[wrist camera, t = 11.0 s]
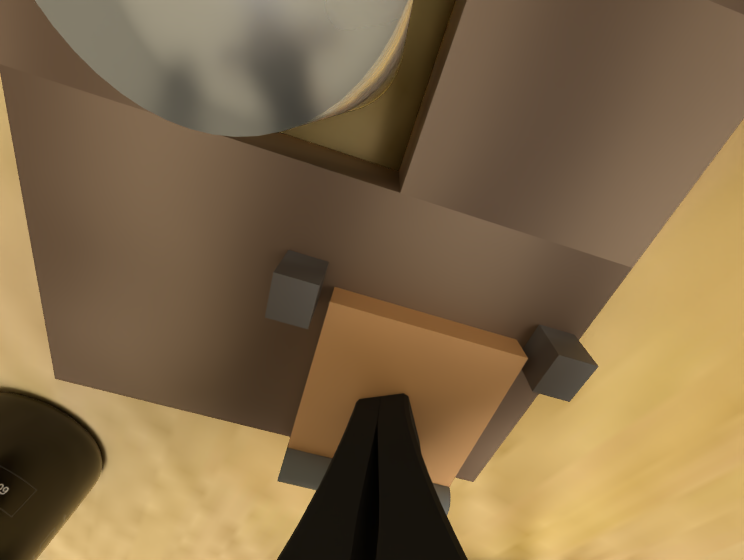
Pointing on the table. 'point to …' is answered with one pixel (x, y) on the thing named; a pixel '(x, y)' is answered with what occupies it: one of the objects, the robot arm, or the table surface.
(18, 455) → the supplement bottle
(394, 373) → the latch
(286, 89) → the steel pin
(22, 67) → the brown board with hole
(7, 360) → the table surface
